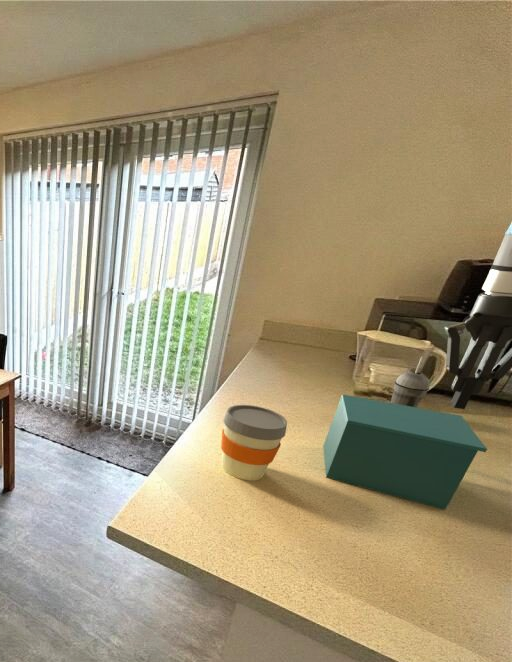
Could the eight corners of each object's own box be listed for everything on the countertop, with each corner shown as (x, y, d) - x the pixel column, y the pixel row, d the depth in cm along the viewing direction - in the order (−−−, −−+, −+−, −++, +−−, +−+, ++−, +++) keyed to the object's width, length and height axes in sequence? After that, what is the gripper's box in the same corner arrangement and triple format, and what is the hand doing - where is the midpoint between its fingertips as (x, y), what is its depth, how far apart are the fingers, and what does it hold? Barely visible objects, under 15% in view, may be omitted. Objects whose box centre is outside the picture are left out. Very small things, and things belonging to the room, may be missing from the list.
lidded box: (426, 471, 95) (453, 417, 89) (445, 509, 83) (478, 450, 77) (323, 446, 106) (341, 397, 100) (326, 477, 94) (346, 423, 88)
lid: (459, 418, 89) (461, 415, 89) (485, 452, 77) (487, 448, 76) (341, 397, 100) (342, 394, 100) (346, 423, 88) (348, 420, 88)
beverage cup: (382, 421, 118) (408, 359, 110) (378, 412, 123) (403, 352, 115) (415, 428, 114) (445, 364, 106) (410, 418, 119) (438, 356, 111)
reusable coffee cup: (202, 459, 102) (213, 407, 96) (243, 452, 104) (256, 401, 98) (240, 489, 90) (255, 432, 84) (284, 480, 93) (302, 425, 87)
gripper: (555, 293, 73) (496, 406, 82) (454, 288, 80) (410, 393, 89) (576, 300, 67) (511, 420, 76) (466, 294, 74) (418, 405, 83)
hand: (457, 405), depth 83 cm, fingers closed
